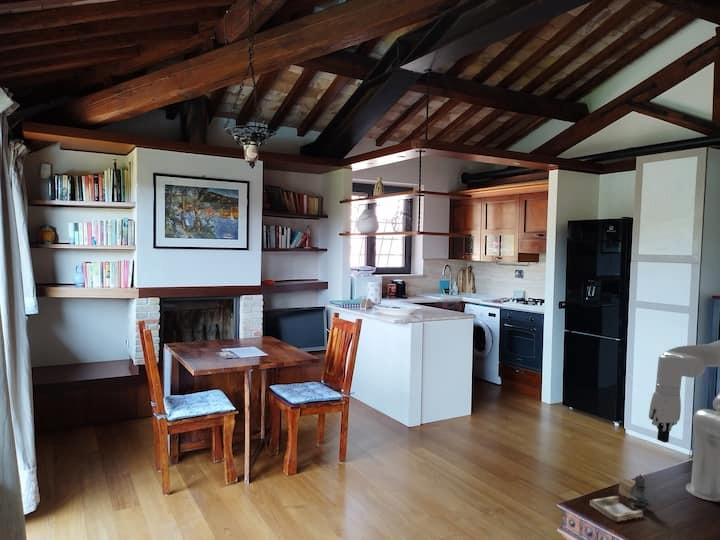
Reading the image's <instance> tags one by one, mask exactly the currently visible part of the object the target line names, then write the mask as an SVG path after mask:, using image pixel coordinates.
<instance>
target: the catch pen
mask: <svg viewBox="0 0 720 540" xmlns="http://www.w3.org/2000/svg"><path fill="white" fill-rule="evenodd" d="M589 506H590V507H592V508H594V509H595V510H596V511H598V512H599V513H601V514H603V515H604V516H605V517H607V518H609V520H612V521H613V522H614V523H616V522H622V520H623V521H627V519H628V520H633V518H634V519H639V517H640V518H643V517H644V511H641V510H633V509H632V508H630V507H627V506H626V505H624V504H622V503H621V502H620V496H618V495H612V496H607V497H601V498H594V499H589Z"/></svg>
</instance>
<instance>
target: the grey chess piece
mask: <svg viewBox="0 0 720 540" xmlns="http://www.w3.org/2000/svg"><path fill="white" fill-rule="evenodd" d="M634 481H635V484H634V493H631V494H629V496H630V499H631V500H630V501H631V504H630V503H629V507H630V506H631V507H632V508H631V507H630V508H631V509H633V508H634V509H633V510H635V509H636V510H635V511H637V510H641V511H643V512H644V511H645V512H646V511H647V507H646V505H647V503H648V501H649V498H648V497H647V496H646V495H645V489H646V487H645V481H646V480H645V478H644V477H643V476H642V474H641V473H639V475H636V476H635V479H634Z"/></svg>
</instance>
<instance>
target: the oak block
mask: <svg viewBox="0 0 720 540" xmlns="http://www.w3.org/2000/svg"><path fill="white" fill-rule="evenodd" d="M634 484H635V480H633V479H631V478H626V479H619V484H618V485H619V486H618V494H619V495H621V496H623V497H624V496H625V498H626V497H627V498H626V499H628V498H629V499H630V496H629V494H631V493H634ZM629 499H628V500H629Z"/></svg>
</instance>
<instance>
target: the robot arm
mask: <svg viewBox="0 0 720 540" xmlns="http://www.w3.org/2000/svg"><path fill="white" fill-rule="evenodd" d="M706 367H708V368H709V367H713V368H717V367H720V339H718V340H716V341H712V342H711V343H707V344H706V343H705V344H692V345H682V346H681V345H680V346H676V347H673V348H669V349H668V350H666V351H664V352H663V353H662V354H661V355H659V356H658V361H657V372H656V382H655V392H653V393H652V396H651V401H650V405H649V409H648V411H649V412H648V418H649V420H652V421H651V425H653V426H655V427H656V429H657V439H656V440H658V441H660V442H661V443H669V440H670V432H671V431H672V428H673V426H675V425H676V426H677V425H678V422H679V421H680V420H681V419H680V418H681V412H682V410H681V409H682V401H681V390H682V389H681V387H682V378H683V377H687V378H691V379H692V378H700V376H702V375H703V374H704V373H705V371H706ZM712 408H713V409H714V410H713V409H708V408H702V409H698V410H696V411H695V412H694V414H693V415H692V416H693V417H692V425H693V434H694V435H693V436H694V438H693V439H694V441H693V442H694V443H693V455H692V468H691V479H690V480H691V481H690V483H687V484H686V485H685V490H686V491H687V492H688V493H689V494H690V495H692V496H693V497H697V498H699V499H702V500H704V501H705V500H707V501H710V502H720V392H718V394H717V395H716V396H715V398H714V399H713V401H712Z"/></svg>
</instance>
